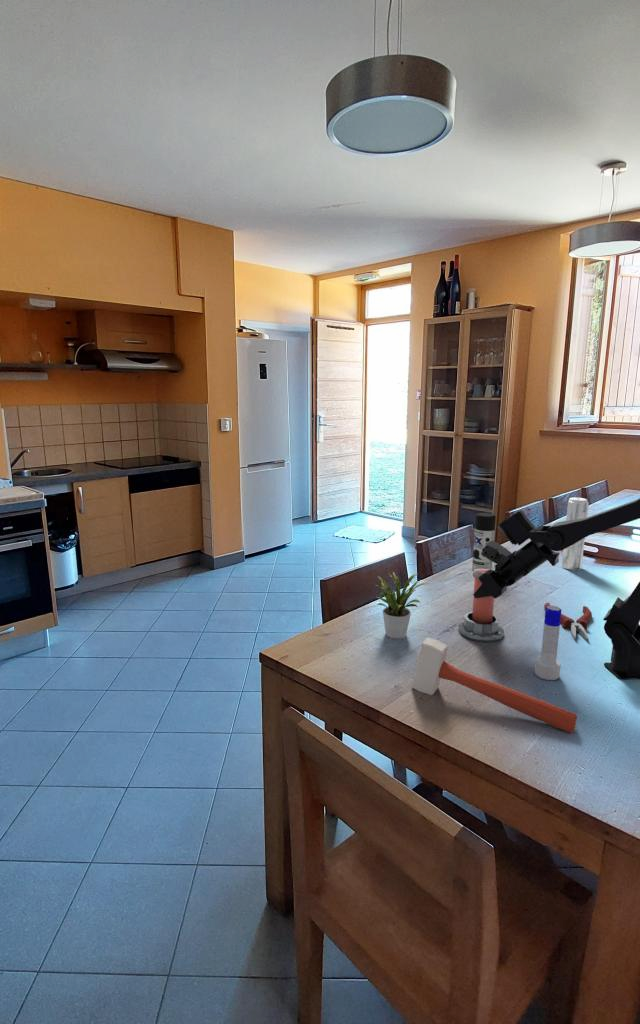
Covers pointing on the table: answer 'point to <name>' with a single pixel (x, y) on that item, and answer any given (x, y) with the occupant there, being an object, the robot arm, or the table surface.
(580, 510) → the white tall cylinder
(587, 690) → the table surface
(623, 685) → the table surface
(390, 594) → the house plant
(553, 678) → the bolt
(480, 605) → the orange capped cylinder
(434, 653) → the mallet
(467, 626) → the pipe socket
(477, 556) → the spray can
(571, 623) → the pliers
